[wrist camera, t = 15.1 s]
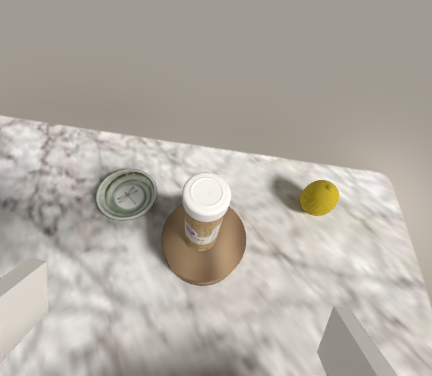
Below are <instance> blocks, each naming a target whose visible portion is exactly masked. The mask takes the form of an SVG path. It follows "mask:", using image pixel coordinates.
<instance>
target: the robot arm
mask: <svg viewBox="0 0 432 376" xmlns="http://www.w3.org/2000/svg"><path fill="white" fill-rule="evenodd" d="M47 312H48V289H47V261H41V260H35V259H28V260H27V261H25V262H24V263H22V264H21V265H19V266H18V267H16V268H15V269H14V270H12V271H11V272H9V273H8V274H6V275H5V276H3V277H2V278H1V279H0V363H1V362H2V361H3V360H4V358H5V357H6V356H7V355H8V354H9V353H10V352H11V351H12V350H13V349H14V348H15V347H16V346H17V345H18V343H19V342H20V341H21V340H22V339H23V338H24V337H25V336H26V335H27V334H28V333H29V332H30V331H31V329H32V328H33V327H34V326H35V325H36V324H37V323H38V322H39V321H40V320H41V319H42V318H43V317H44V316H45V314H46V313H47ZM317 353H318V355H319V358H320V360H321V362H322V365H323V367H324V370H325V372H326V374H327V376H397V374H396V373H395V371H394V370H393V369H392V367H391V366H390V364H389V363H388V362H387V360H386V359H385V357H384V356H383V354H382V353H381V352H380V350H379V349H378V347H377V346H376V345H375V343H374V342H373V340H372V339H371V337H370V336H369V335H368V333H367V332H366V330H365V329H364V328H363V326H362V325H361V323H360V322H359V320H358V319H357V318H356V316H355V315H354V313H353V312H352V311H351V309H350V308H343V307H337V306H334V307H333V310H332V312H331V315H330V318H329V321H328V323H327V326H326V329H325V332H324V334H323V337H322V340H321V343H320V345H319V348H318V351H317Z"/></svg>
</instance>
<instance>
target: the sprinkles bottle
mask: <svg viewBox="0 0 432 376" xmlns="http://www.w3.org/2000/svg"><path fill="white" fill-rule="evenodd" d="M230 200H231V191H230V187H229V185H228V184H227V182H226V181H225V180H224V179H223V178H222V177H220V176H218V175H216V174H213V173H207V172H205V173H199V174H196V175H194V176H192V177H191V178H190V179H189V180H188V181H187V182H186V183H185V185H184V187H183V192H182V201H183V206H184V209H185V240H186V242H187V244H188V245H189V247H190V248H192V249H194V250H197V251H205V250H208V249H210V248H211V247H212V246H213V245H214V243H215V242H216V238H217V235H218V232H219V229H220V226H221V223H222V220H223V216H224V214H225V213H226V211H227V209H228V206H229V203H230Z"/></svg>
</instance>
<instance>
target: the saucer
mask: <svg viewBox="0 0 432 376" xmlns="http://www.w3.org/2000/svg"><path fill="white" fill-rule="evenodd" d="M156 197H157V187H156V184H155V181H154V180H153V179H152V177H151V176H150V175H148V174H147V173H145V172H143V171H141V170H137V169H124V170H120V171H117V172H115V173H113V174H111V175H109V176H108V177H107V178H105V179H104V180H103V182H102V183H101V184H100V186H99V188H98V190H97V194H96V202H97V205H98V208H99V209H100V211H101V212H102V213H103V214H104V215H106V216H107V217H109V218H111V219H114V220H120V221H126V220H132V219H135V218H138V217H140V216H142V215H144V214H145V213H146V212H147V211H149V210H150V209H151V207H152V206H153V204H154V203H155V200H156Z"/></svg>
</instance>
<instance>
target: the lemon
mask: <svg viewBox="0 0 432 376" xmlns="http://www.w3.org/2000/svg"><path fill="white" fill-rule="evenodd" d="M338 200H339V192H338V189H337V188H336V186H335V185H334V184H332V183H331V182H329V181H325V180H318V181H315V182H313V183H311V184H309V185H308V186H307V187H306V188H305V189H304V190H303V191H302V194H301V196H300V204H301V206H302V208H303V210H304V211H306V212H307V213H308V214H310V215H314V216H321V215H324V214H327V213H329V212H330V211H331V210H332V209H333V208H334V207H335V206H336V204H337V202H338Z"/></svg>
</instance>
